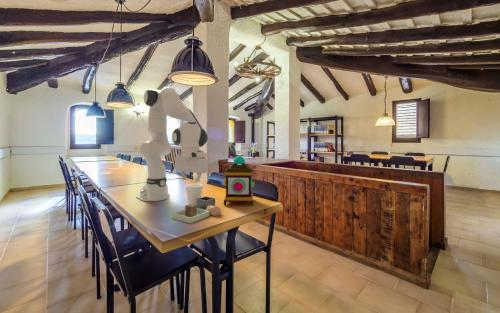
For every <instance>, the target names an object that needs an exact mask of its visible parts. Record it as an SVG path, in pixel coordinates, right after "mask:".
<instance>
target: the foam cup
mask: <svg viewBox="0 0 500 313" xmlns="http://www.w3.org/2000/svg"><path fill="white" fill-rule="evenodd" d="M185 188H186V189H185V190H186V195H187V203H188V205H189V204H195V205H197V199H198V198H202V194H203V184H202V183H190V184H186V186H185Z"/></svg>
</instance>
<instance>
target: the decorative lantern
mask: <svg viewBox="0 0 500 313" xmlns="http://www.w3.org/2000/svg"><path fill="white" fill-rule="evenodd" d="M253 170H254V169H253V168H252V167H251V166H249V165H247V163H246V162H245V158H244V157H243V156H242V155H237V156H236V157H234V160H233V164H231V165H230V166H228V167H227V168H226V169H225V171H224V172H223V174H224V175H225V178H224V180H223V186H225V196H224V198H223V205H224V206H225V207H226V206H227V203H228V202H229V203H231V202H236V203H237V202H238V203H240V202H241V203H242V202H243V203H246V202H247V203H249V205H250V207H253V204H254V203H253V202H254V199H253V198H254V194H253V192H252V188H254V187H255V186H256V183H255V181H254V180H252V175H253Z"/></svg>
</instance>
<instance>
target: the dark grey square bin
mask: <svg viewBox="0 0 500 313" xmlns="http://www.w3.org/2000/svg"><path fill="white" fill-rule="evenodd" d="M208 205H211V206H216V198H215V197H210V196H203V197H202V196H201V198H198V199H197V208H198V209H202V210H206V208H207V206H208Z"/></svg>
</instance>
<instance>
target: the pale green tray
mask: <svg viewBox="0 0 500 313" xmlns="http://www.w3.org/2000/svg"><path fill="white" fill-rule="evenodd" d="M210 216H211V215H210V211H207V210H202V209H198V208H197V215H196V216H193V217H191V218H190V217H186V216H185V208H184V209H181V210H178V211H175V212H172V213H171V218H172V219H174V220H178V221H182V222H185V223H189V224H193V223H195V222H198V221H199V220H203V219H205V218H207V217H208V218H209V217H210Z"/></svg>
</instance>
